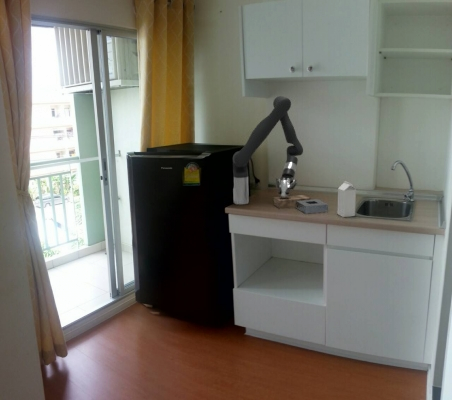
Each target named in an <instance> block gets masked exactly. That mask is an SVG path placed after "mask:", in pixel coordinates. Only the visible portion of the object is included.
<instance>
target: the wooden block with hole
mask: <svg viewBox="0 0 452 400" xmlns="http://www.w3.org/2000/svg"><path fill="white" fill-rule="evenodd" d="M301 200H311V197H309V196H307V195H305V194H300V195H299V194H298V195H288V199H283V200H281V196H273V206H275V207H276V208H277V209H279V210H281V209H292V208H296V201H301Z"/></svg>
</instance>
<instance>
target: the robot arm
mask: <svg viewBox="0 0 452 400" xmlns="http://www.w3.org/2000/svg"><path fill="white" fill-rule="evenodd" d="M272 105H273V109H272V110H271V112H270V113H269V114H268V115H267V116H266V117H265V118H262V120H261V121H260V122H259V123H258V124H257V125H256V126H255V127H254V129H252V132H251V134H250V136H249V137H248V139H247V141H246V143H245V145H243V146H242V148H241V149H240V150H239V151H236V152H234V154H233V156H232V172H233V189H232V193H233V194H232V195H233V197H232V198H233V204H235V205H247V204H249V170H248V163H249V162H250V160H251V158H252V156H253V155H254V153H255V152H256V151H257V150H258V148H260V146H261V145H262V144H263V142H264V141H265V140H266V139H267V138H268V136H269V135H270V133H271V132H272V131H273V130H274V129H275V127H276V125H277V124H278V122H280V125H281V127H282V130H283V134H284V137H285V141H286V143H287V144H290V145H289V146H287V148H286V160H285V164H284V167H283V171H282V174H281V177H280V178H275V182H276V188H277V189H278V190H277V192H278V194H279V195H281V180H288V188H287V191H286V195H288V196H289V194H290V193H291V192H290V191H291V190H294V189H295V187H297V185H298V179H295V175H296V171H297V165H298V161H299V160H298V156H301V155H303V153H304V146H302V144H301V142H300V140H299V139H298V136H297V133H296V130H295V127H294V125H293V123H292V121H291V119H290V116H289V114H288V112H289V110H291V108H292V107H291V106H292V102H291V99H290V98H288V97H286V96H282V95H280V96H277V97H275V98H274V99H273V104H272Z"/></svg>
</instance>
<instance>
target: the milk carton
mask: <svg viewBox="0 0 452 400" xmlns="http://www.w3.org/2000/svg"><path fill="white" fill-rule="evenodd" d="M356 196H357V189H356V188H354V186H353V184H352V183H351V182H349V181H346V180H344V181H343V183H341V185H340V186H339V187H338V188H337V212H336V213H337V215H339V216H341V217H342V218H348V217H356V198H357V197H356Z"/></svg>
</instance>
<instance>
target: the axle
mask: <svg viewBox="0 0 452 400" xmlns="http://www.w3.org/2000/svg"><path fill="white" fill-rule="evenodd" d="M280 184H281V194H280V197H281V200H283V199H288V196H289V194H288V195H286V191H287V188H288V180H281V181H280Z"/></svg>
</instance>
